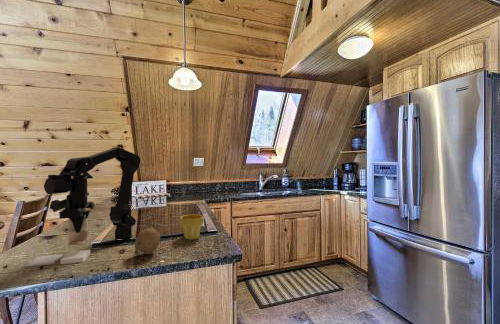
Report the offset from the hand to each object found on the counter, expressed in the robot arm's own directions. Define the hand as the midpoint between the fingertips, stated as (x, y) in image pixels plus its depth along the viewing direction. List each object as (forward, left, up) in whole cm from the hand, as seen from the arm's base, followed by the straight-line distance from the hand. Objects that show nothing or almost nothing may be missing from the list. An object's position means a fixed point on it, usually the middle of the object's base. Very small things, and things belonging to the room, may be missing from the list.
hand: (78, 231), depth 96 cm
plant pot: (-43, -9, -9) cm, 45 cm away
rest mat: (+10, +2, -9) cm, 14 cm away
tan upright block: (0, 0, -4) cm, 4 cm away
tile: (0, -1, -8) cm, 9 cm away
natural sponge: (-25, +7, -9) cm, 28 cm away
